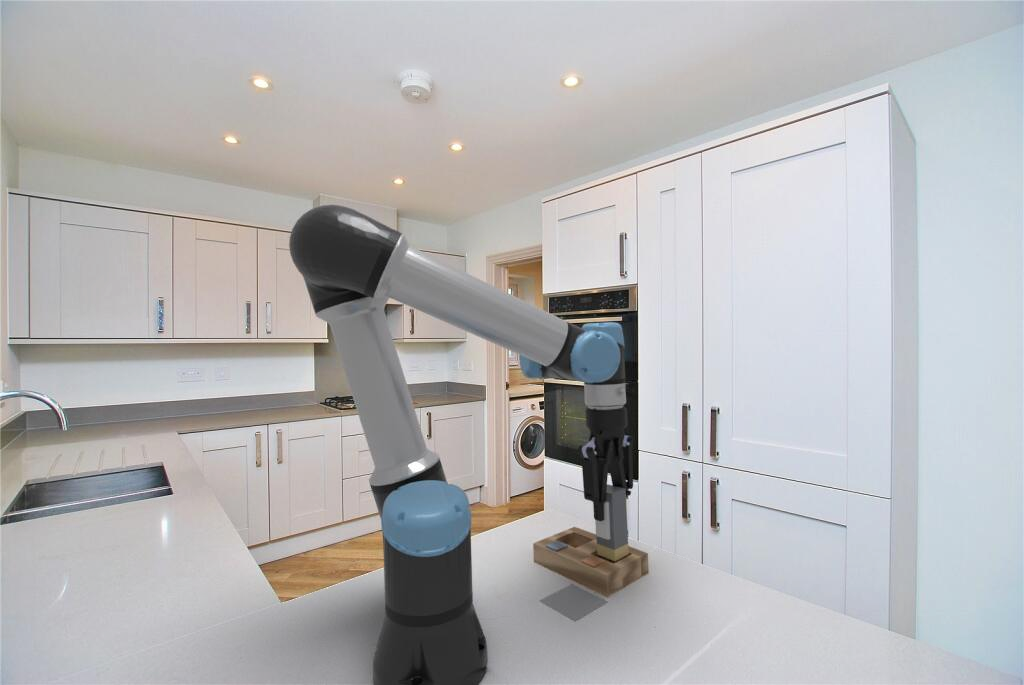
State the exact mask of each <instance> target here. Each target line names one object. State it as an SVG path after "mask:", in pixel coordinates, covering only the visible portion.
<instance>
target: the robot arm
mask: <svg viewBox="0 0 1024 685" xmlns="http://www.w3.org/2000/svg"><path fill="white" fill-rule="evenodd" d="M288 247H289V253H290V257H291V259H292V263H293V264H294V266H295V267H296V269H297V271H298V272H299V273H300V274H301V276H302V277H303V280H304V282H305V286H306V289H307V293H308V296H309V299H310V301H311V305H312V307H313V310H314V314H315V317H316V318H318V319H320V320H322V321H324V322H325V323H327V324H328V325H329V326H330V330H331V333H332V336H333V339H334V342H335V346H336V349H337V352H338V355H339V359H340V361H341V362H340V363H341V365H342V368H343V371H344V374H345V377H346V380H347V382H348V383H347V384H348V386H349V391H350V393H351V396H352V398H353V402H354V406H355V409H356V412H357V415H358V417H359V420H360V425H361V428H362V430H363V433H364V437H365V440H366V443H367V447H368V449H369V452H370V455H371V456H370V457H371V459H372V462H373V465H374V469H373V471H372V473H371V475H370V477H369V479H368V482H369V486H370V488H371V493H372V496H373V498H374V501H375V504H376V508H377V512H378V515H379V518H380V523H381V531H382V545H383V546H382V548H383V551H382V552H383V572H384V573H383V576H384V577H383V579H384V606H385V609H384V610H385V611H384V612H385V613H384V614H385V616H384V619H383V623H382V626H381V631H380V633H379V637H378V640H377V644H376V648H375V651H374V654H373V662H372V675H373V685H479V683H480V682H481V680H482V679H483V678H484V676H485V674H486V671H487V668H488V666H487V665H488V643H487V639H486V636H485V633H484V631H483V628H482V625H481V622H480V619H479V617H478V614H477V612H476V608H475V605H474V601H473V599H474V598H473V596H474V595H473V570H472V569H473V568H472V567H473V563H472V532H471V531H472V530H471V526H472V511H471V507H470V501H469V497H468V494H467V493H466V492H465V491H464V489H462V488H461V487H460V486H458V485H457V484H454V483H448V481H447V478H446V474H445V471H444V468H443V464H442V462H441V458H440V456H439V454H438V453H437V452H434V451H433V450H430V449H429V448H428V447H427V444H426V442H425V438H424V434H423V433H422V432H423V431H422V428H421V425H420V421H419V419H418V415H417V413H416V409H415V405H414V402H413V399H412V396H411V392H410V390H409V386H408V384H407V380H406V377H405V374H404V370H403V368H402V365H401V361H400V358H399V355H398V351H397V348H396V345H395V342H394V338H393V335H392V332H391V329H390V325H389V322H388V319H387V315H386V313H385V307H386V305H387V303H388V301H389V300H390V299H392V300H395V301H396V302H399V303H401V304H403V305H406V306H408V307H410V308H413V309H415V310H417V311H419V312H422V313H423V314H426V315H428V316H431V317H433V318H435V319H438V320H440V321H442V322H444V323H447V324H449V325H451V326H453V327H456V328H458V329H460V330H463V331H464V332H467V333H470V334H472V335H474V336H475V337H479V338H481V339H483V340H485V341H487V342H490V343H492V344H494V345H495V346H496V345H497V346H499V347H501V348H503V349H506V350H508V351H510V352H513V353H514V354H516V355H518V359H519V361H518V362H519V367H520V370H521V373H522V374H523V376H524V377H525V378H527V379H539V380H543V379H561V380H568V381H570V380H571V381H576V382H582V383H583V387H584V404H585V405H586V406H587V407H586V408H585V411H584V412H585V426H586V428H588V429H589V437H588V442H587V443H586V444H585V445H579V446H578V453H579V455H580V459H581V467H582V468H581V469H582V470H581V471H582V482H583V484H582V485H583V486H582V487H583V496H584V499H585V500H587V501H590V502H592V505H593V518H594V520H595V534H596V536H598V537H601V538H604V539H607V540H609V539H610V516H609V502H606V489H607V485H608V476H609V474H608V473H609V472H610V478H611V485H613V486H617V487H621V488H625V489H626V496H628V497H629V496H631V495H632V491H631V490H633V488H634V468H633V467H634V463H633V462H634V461H633V448H634V441H635V437H634V436H630V435H625V431H624V429H626V428H627V427H628V409H627V408H626V406H624V405H625V404H627V394H626V366H625V348H626V347H625V345H626V344H625V338H624V333H623V327H622V325H621V324H620V323H618V322H610V321H609V322H608V321H607V322H595V323H594V322H591V323H590V322H589V323H584V324H583V325H582V327H579V326H577V324H573V323H571V322H568V321H566V320H564V319H563V318H560V317H558V316H556V315H555V314H552V313H550V312H548V311H545V310H543V309H542V308H539V307H538V306H536V305H533V304H532V303H529V302H527V301H526V300H523V299H521V298H519V297H517V296H515V295H512V294H511V293H508V292H507V291H505V290H503V289H500V288H498V287H496V286H494V285H492V284H490V283H488V282H485V281H484V280H482V279H480V278H477V277H476V276H474V275H471V274H469V273H468V272H465V271H463V270H461V269H459V268H456V267H455V266H453V265H451V264H448V263H446V262H445V261H442V260H440V259H438V258H437V257H434V256H432V255H429V254H428V253H426V252H424V251H422V250H420V249H418V248H416V247H413V246H411V245H410V243H408V240H407V238H406V235H405V233H402V232H400V231H398V230H396V229H393V228H392V227H389V226H388V225H385V224H384V223H382V222H380V221H378V220H377V219H374V218H372V217H370V216H368V215H366V214H364V213H361V212H360V211H357V210H355V209H354V208H351V207H347V206H344V205H338V204H337V205H336V204H327V205H325V204H324V205H320V206H316V207H313V208H312V209H310V210H308V211H307V212H304V213H303V214H302V215H301V216H300V217H299V218H298V219H297V220H296V222H295V224H294V225H293V227H292V229H291V232H290V236H289V242H288Z"/></svg>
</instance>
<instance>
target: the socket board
mask: <svg viewBox="0 0 1024 685" xmlns="http://www.w3.org/2000/svg"><path fill="white" fill-rule="evenodd" d="M532 544H533V545H532V547H533V548H532V549H533V551H532V552H533V563H535V564H537V565H539V566H542V567H544V568H546V569H547V570H550V571H552V572H554V573H556V574H558V575H559V576H563V577H564V578H567V579H569V580H570V581H572V582H575V583H576V584H579V585H581V586H583V587H585V588H587V589H589V590H591V591H593V592H595V593H597V594H599V595H601V596H604V597H606V598H608V597H610V596H612V595H614V594H615V593H617V592H619V591H621V590H622V589H624V588H626V587H627V586H630V585H631V584H633V583H634V582H636V581H638V580H639V579H641V578H643V577H644V576H646V575H648V574H649V553H648V552H647V551H644V550H639V549H638V548H635V547H632V546H629V545H628V551H629V554H628V555H626V556H624V557H623V558H621V559H619V560H617V561H613V560H610V559H608V558H605V557H603V556H600V555H597V536H596V533H592V532H590V531H587V530H585V529H582V528H580V527H577V526H573V527H571V528H568V529H565V530H562V531H560V532H558V533H555V534H553V535H550V536H548V537H545V538H543V539H540V540H538V541H535V542H533V543H532Z"/></svg>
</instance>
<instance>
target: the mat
mask: <svg viewBox="0 0 1024 685" xmlns="http://www.w3.org/2000/svg"><path fill="white" fill-rule="evenodd" d="M539 602H540V603H542V604H543V605H546V606H547V607H549V609H550V608H551V609H552V610H554V611H556V612H558V613H559V614H561V615H563V616H564V617H567V618H568V619H570V620H571V621H573V622H577V621H579V620H581V619H582V618H584V617H586V616H587V615H589V614H591V613H593V612H594V611H596V610H598V609H599V608H600V607H602V606H604V605H605V604H607V603H609V601H608V600H606V599H605V598H601V597H599V596H597V595H595V594H594V593H591V592H589V591H588V590H585V589H583V588H581V587H579V586H577V585H575V584H573V583H570V585H567V586H565V587H563V588H562V589H560V590H558V591H556V592H554V593H552V594H550V595H547V596H546V597H544V598H542V599H540V600H539Z"/></svg>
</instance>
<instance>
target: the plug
mask: <svg viewBox="0 0 1024 685" xmlns="http://www.w3.org/2000/svg"><path fill="white" fill-rule="evenodd" d="M606 502H609V516H610V539H609V540H607V539H604V538H601V537H598V536H597V555H600V556H603V557H605V558H608V559H610V560H613V561H617V560H619V559H621V558H623V557H624V556H626V555H628V554H629V551H628V546H629V537H628V536H629V534H628V533H629V532H628V514H627V513H628V512H627V495H626V489H625V488H621V487H617V486H613V485H612V484H608V483H607V489H606Z"/></svg>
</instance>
